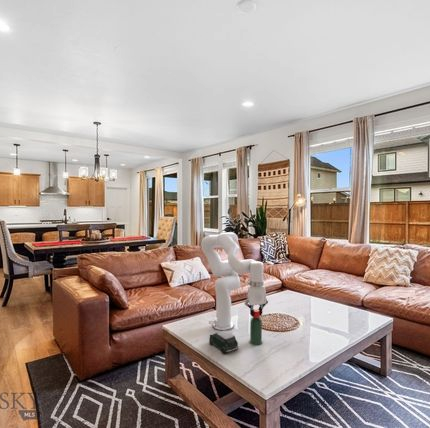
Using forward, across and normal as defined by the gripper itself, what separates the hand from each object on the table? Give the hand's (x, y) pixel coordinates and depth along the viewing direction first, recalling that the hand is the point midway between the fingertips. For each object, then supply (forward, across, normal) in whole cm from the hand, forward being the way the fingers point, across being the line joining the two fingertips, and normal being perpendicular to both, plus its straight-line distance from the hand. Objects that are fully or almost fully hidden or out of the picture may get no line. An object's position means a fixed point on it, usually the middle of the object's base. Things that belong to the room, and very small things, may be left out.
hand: (256, 315), depth 168 cm
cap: (+1, 0, 0) cm, 1 cm away
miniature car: (+16, -19, 0) cm, 25 cm away
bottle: (+16, 0, 0) cm, 16 cm away
